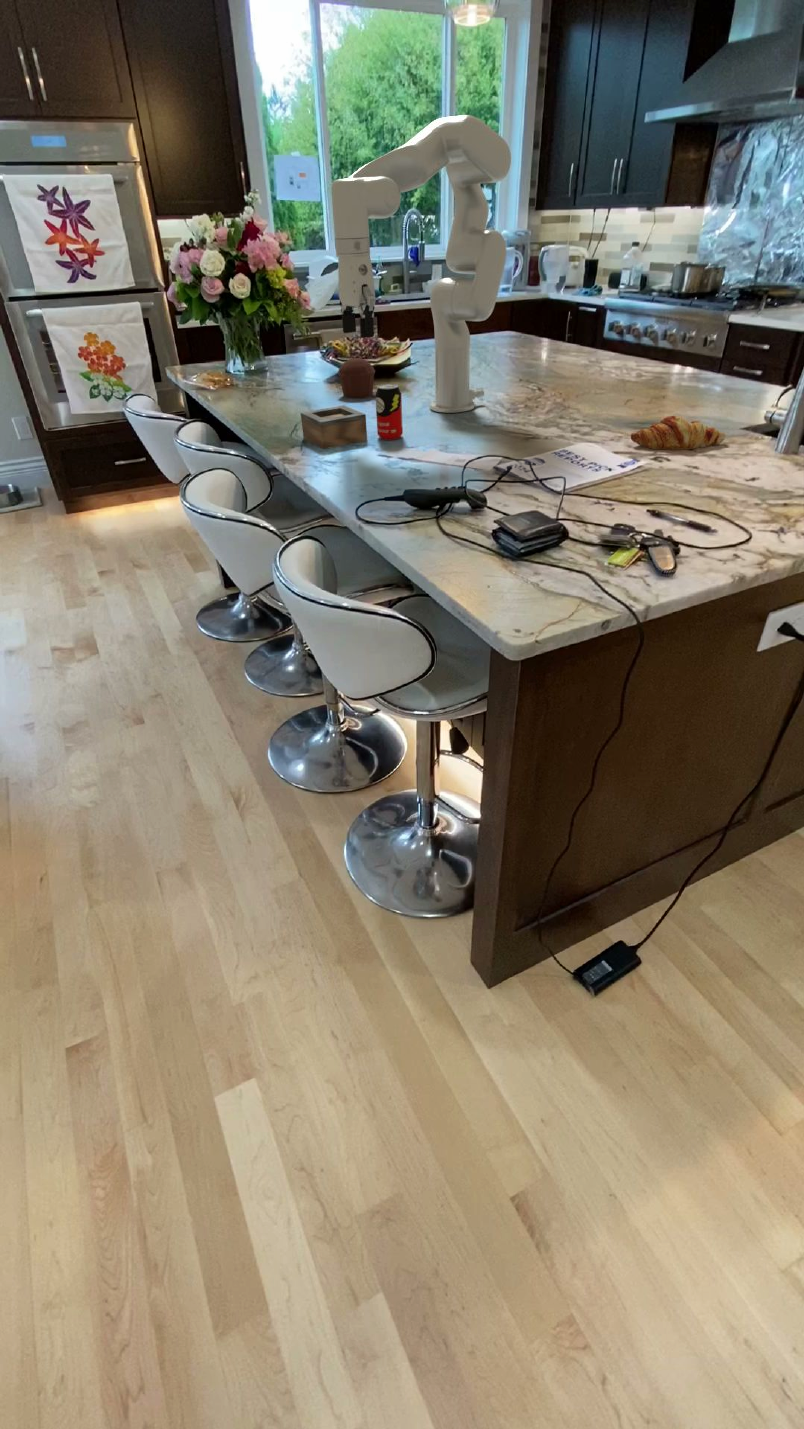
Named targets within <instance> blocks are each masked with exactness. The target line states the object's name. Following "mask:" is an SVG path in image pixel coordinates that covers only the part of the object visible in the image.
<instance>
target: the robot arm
mask: <svg viewBox="0 0 804 1429" xmlns="http://www.w3.org/2000/svg"><path fill="white" fill-rule="evenodd" d="M510 150H511V149H510V147H509V145H508V143H507V141H506V140H505V139H504V138H503V136H501V135H500V134H499V133H497V132H496V131H495V130H493V129H492V128H491V127H490V126H489V125H488V124H486V123H485V122H484V121H482V120H481V119H480V118H477V117H476V116H473V115H471V114H463V115H453V116H446V117H445V116H444V117H440V118H437V119H435V120H433V121H432V122H430V123H429V124H428V125H426V126H424V127H423V129H421V130H420V131H419V132H418V133H416V134H415V135H414V136H413V137H411V138H410V139H409V140H408V141H406V143H404V144H403V145H401V146H399V147H397V148H395V149H393V150H391V151H389V152H387V153H386V154H383V155H382V156H380V157H378V158H375V159H373V160H372V161H370V162H368V163H366V164H364V165H363V166H361V167H360V168H359V169H358V170H356V171H355V172H354V173H352V174H351V175H350V176H349V177H347V178H338V179H335V180H333V182H332V183H331V189H330V190H331V203H332V218H333V231H334V242H335V257H338V258H337V260H338V265H337V266H338V267H337V270H338V272H337V273H338V274H337V275H338V291H337V294H338V295H337V296H338V298H339V305H340V313H341V321H342V322H341V323H342V332H343V334H350V333H356V332H357V324H356V323H357V322H356V313H355V312H354V310H355V309H357V310H358V311H359V315H360V317H359V319H358V320H359V331H360V333H359V334H360V338H361V339H366V338H374V336H375V328H374V327H375V326H374V325H375V324H374V317H375V313H374V311H375V304H376V290H375V279H374V271H373V265H372V260H371V247H370V246H371V244H370V230H369V229H370V226H369V220H370V219H371V220H383V219H388V218H391V217H392V216H393V215H394V214H396V212H397V211H398V210H399V209H400V208H399V207H400V205H401V200H402V198H401V197H402V196H401V194H402V193H406V192H410V191H413V190H415V189H418V188H420V187H422V186H424V185H425V184H426V183H427V182H428V181H430V179H432V177H434V176H435V175H437V173H438V172H440V171H441V170H442V169H443V168H445V172H446V175H447V178H448V180H449V182H450V185H451V189H452V191H453V196H454V200H455V202H454V203H455V207H454V208H455V210H454V215H453V220H452V225H451V228H450V233H449V237H448V242H447V247H446V253H445V263H446V267H447V268H448V269H449V270H450V271H451V272H453V273H456V274H466V275H474V277H459V276H457V277H455V276H453V277H452V276H451V277H444V278H440V279H439V280H437V281H436V282H435V283H434V284H433V286H432V288H431V291H430V296H429V302H430V309H431V313H432V314H431V315H432V320H433V326H434V327H433V328H434V332H433V333H434V384H435V385H434V386H435V387H434V390H435V393H434V394H435V400H433V401H431V403H430V404H429V409H430V410H431V411H434V412H437V413H446V414H450V413H452V414H453V413H463V412H469V411H472V410H473V409H474V408H475V406H476V403H475V401H473V400H475V399H477V398H482V397H484V396H485V391H484V389H477V390H474V389H473V388H471V387H470V378H471V377H470V376H471V375H470V374H471V372H470V371H471V370H470V369H471V336H470V334H471V333H470V331H469V327H468V324H467V323H466V321H467V322H482V321H486V320H487V319H488V318H489V317H490V316H491V315H492V313H493V311H494V309H495V306H496V302H497V298H498V295H499V291H500V286H501V282H502V278H503V274H504V271H505V270H504V269H505V266H506V261H507V244H506V241H505V238H504V235H502V233H501V232H499V231H497V230H495V229H486V228H487V225H488V218H489V204H488V200H487V198H486V194H485V193H484V191H483V189H482V186H481V184H494V183H499V182H501V181H503V180H504V178H506V177H507V175H508V173H509V171H510V168H511V165H512V154H511V151H510Z"/></svg>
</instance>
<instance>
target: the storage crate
mask: <svg viewBox="0 0 804 1429" xmlns="http://www.w3.org/2000/svg"><path fill="white" fill-rule="evenodd" d="M300 421H301V426H302V427H301V428H302V437H303V439H304V440H305V441H308V442H309V443H311V444H314V445H315V446H317V447H318V448H320V449H323V450H326V449H331V448H336V447H342V446H347V445H352V444H357V443H362V442H367V441H368V433H367V432H368V431H367V416H366V414H365V413H363V412H361V411H358V410H356V409H353V408H352V407H349V406H346V405H345V404H344V405H338V406H334V407H326V408H321V409H315V410H308V411H303V412H300Z"/></svg>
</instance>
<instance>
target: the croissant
mask: <svg viewBox="0 0 804 1429" xmlns="http://www.w3.org/2000/svg"><path fill="white" fill-rule="evenodd" d="M726 437H727V436H726V433H724V432H721V431H719V430H718V429H716V427H708V426H707V425H704V424H703V423H702V422H701V421H699V420H695V421H693V420H692V421H691V420H690V422H688V421H687V419H686V418H685V417H683V416H678V415H670V416H667V415H666V417H663V419H661V420H660V422H658V423H657V422H656V423H653V424H652V425H651V426H649V428H643V429H640V430H638V431H637V432H633V433H631V434H630V439H631V442H633V443H636V444H637V445H638V446H639V445H640V446H644V447H645V448H647V449H652V450H665V451H675V450H676V451H689V450H694V449H696V448H701V449H702V448H705V447H708V446H710V445H711V446H716V445H718V444H721V443H722V442H724V440H725V439H726Z"/></svg>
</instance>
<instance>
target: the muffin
mask: <svg viewBox="0 0 804 1429" xmlns="http://www.w3.org/2000/svg"><path fill="white" fill-rule="evenodd" d="M375 373H376V370H375V368H374V366H373V365H372V364H371V363H370V362H369V361H367V360H366V359H364V358H360V357H355V358H349V359H347V360H346V361H345V362H343V363H342V364H341V365H340V367H339V369H338V371H337V375H338V378H339V381H340V384H341V389H342V394H343V397H345V398H347V399H348V398H350V399H364V398H368V397H371V396H373V394H374V393H373V392H374V384H375V381H374V380H375Z"/></svg>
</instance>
